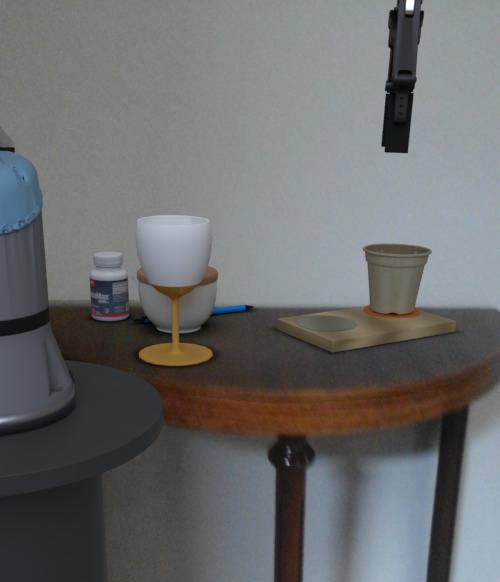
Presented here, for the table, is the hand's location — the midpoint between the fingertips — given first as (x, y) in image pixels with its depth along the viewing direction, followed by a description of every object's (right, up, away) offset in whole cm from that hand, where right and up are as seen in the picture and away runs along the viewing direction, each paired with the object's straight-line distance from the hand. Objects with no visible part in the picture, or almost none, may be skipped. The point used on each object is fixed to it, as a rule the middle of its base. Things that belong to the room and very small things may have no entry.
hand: (393, 150), depth 104 cm
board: (-2, -21, +10) cm, 23 cm away
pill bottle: (-38, -19, +14) cm, 44 cm away
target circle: (+2, -18, +14) cm, 23 cm away
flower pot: (+2, -18, +14) cm, 23 cm away
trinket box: (-28, -21, +9) cm, 36 cm away
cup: (-27, -26, -2) cm, 38 cm away
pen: (-26, -18, +15) cm, 35 cm away
